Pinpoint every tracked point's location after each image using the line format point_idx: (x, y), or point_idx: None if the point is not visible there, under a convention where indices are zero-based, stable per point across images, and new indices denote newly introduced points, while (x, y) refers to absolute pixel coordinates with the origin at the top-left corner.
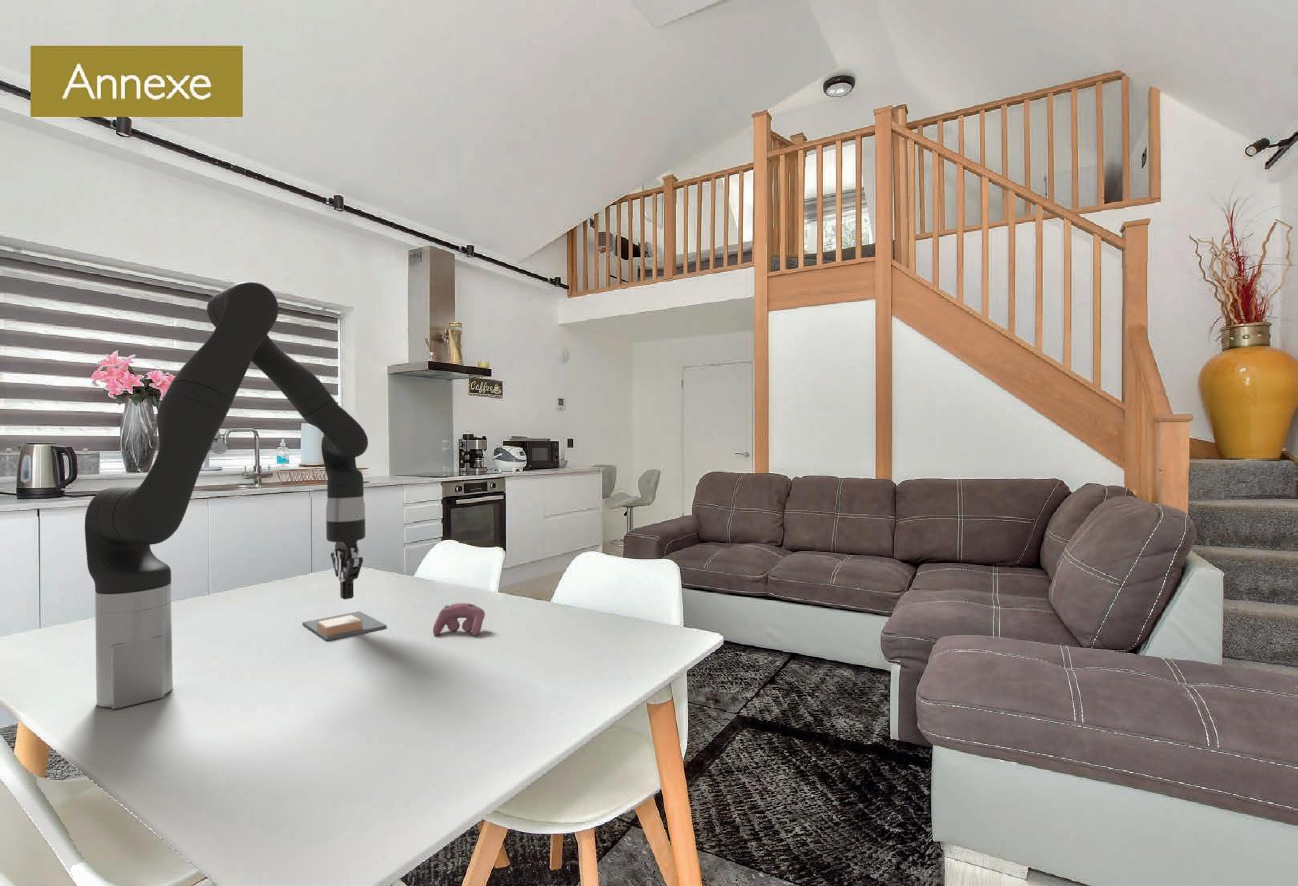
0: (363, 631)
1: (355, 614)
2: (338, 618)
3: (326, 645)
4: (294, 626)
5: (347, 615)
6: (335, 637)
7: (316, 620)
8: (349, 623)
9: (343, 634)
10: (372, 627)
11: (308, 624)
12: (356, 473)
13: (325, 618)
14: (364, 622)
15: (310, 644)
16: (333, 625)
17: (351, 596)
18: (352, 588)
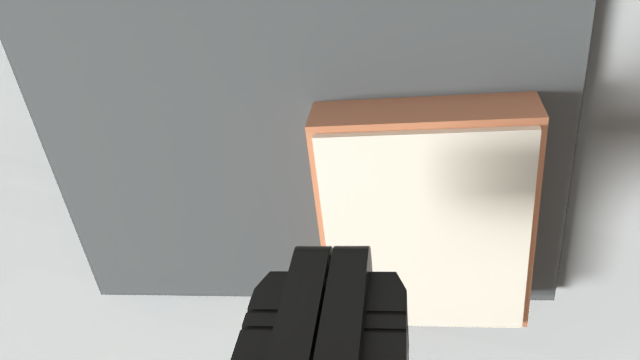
0: (581, 92)
1: (61, 11)
2: (350, 228)
3: (632, 305)
4: (110, 310)
5: (65, 67)
6: (557, 253)
7: (99, 238)
8: (531, 203)
9: (563, 218)
10: (572, 21)
11: (170, 287)
12: None
13: (75, 192)
14: (363, 26)
15: (532, 345)
16: (520, 297)
17: (370, 265)
18: (406, 339)
